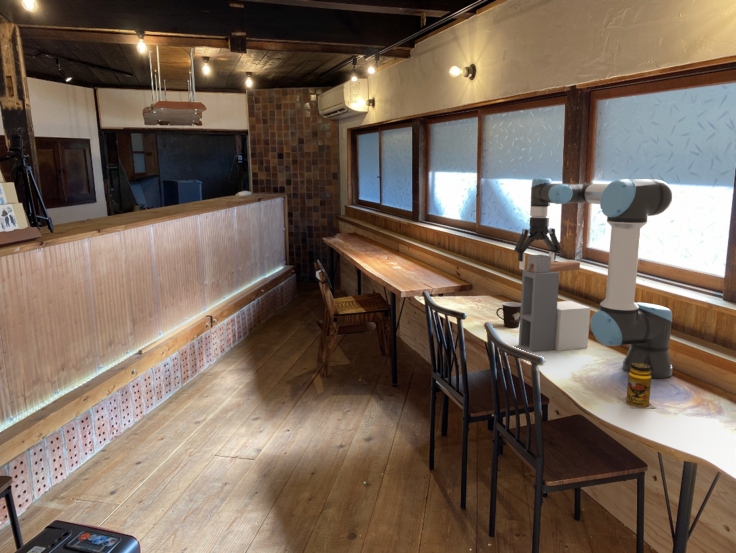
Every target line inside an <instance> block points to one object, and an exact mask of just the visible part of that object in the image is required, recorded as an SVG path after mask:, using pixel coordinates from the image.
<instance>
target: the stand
mask: <svg viewBox="0 0 736 553" xmlns="http://www.w3.org/2000/svg"><path fill="white" fill-rule="evenodd" d="M521 275H522V277H521V278H522V280H521V281H522V282H521V293H520V294H521V295H520V303H521V311H520V323H519V332H518V334H519V335H518V346H520V347H522V346H523V347H524V346H525V345H526V346H528V351H529V352H530V353H532V352H543V351H544V352H545V351H552V350H553V351H554V350H555V349H554V346H555V331H556V316H557V302H559V301H558V299H559V298H558V297H559V284H560V272H559V271H555V272H550V273H533V272H530V271H527V269H524V270H522V274H521Z"/></svg>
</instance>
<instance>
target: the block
mask: <svg viewBox="0 0 736 553" xmlns="http://www.w3.org/2000/svg"><path fill="white" fill-rule="evenodd" d="M590 317H591V307H589V306H587V305H583V304H581V303H578V302H575V301H572V300H563V301H557V316H556V331H555V346H554V350H556V351H567V350H568V351H569V350H579V349H587V348H588V344H589V343H588V342H589V334H590V333H589V331H590V321H591V318H590Z"/></svg>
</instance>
